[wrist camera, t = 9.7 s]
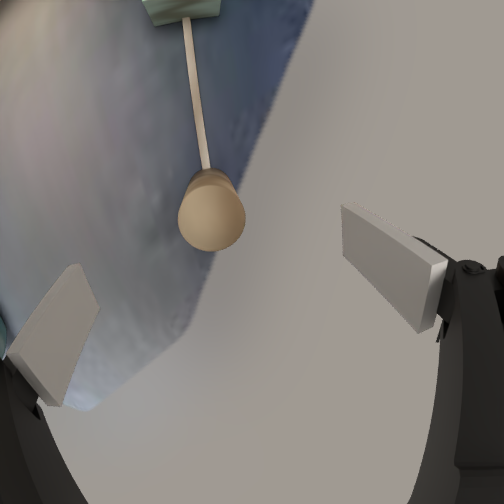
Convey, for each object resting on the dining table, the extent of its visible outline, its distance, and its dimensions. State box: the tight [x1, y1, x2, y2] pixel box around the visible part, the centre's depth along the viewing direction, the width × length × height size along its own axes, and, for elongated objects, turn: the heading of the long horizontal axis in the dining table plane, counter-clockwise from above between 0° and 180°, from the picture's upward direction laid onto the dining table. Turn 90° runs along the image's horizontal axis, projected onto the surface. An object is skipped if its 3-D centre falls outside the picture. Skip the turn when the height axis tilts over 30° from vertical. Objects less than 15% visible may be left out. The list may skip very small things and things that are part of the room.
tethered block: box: [142, 0, 245, 251], centre depth 17 cm, size 6×25×10 cm, turn 7°
